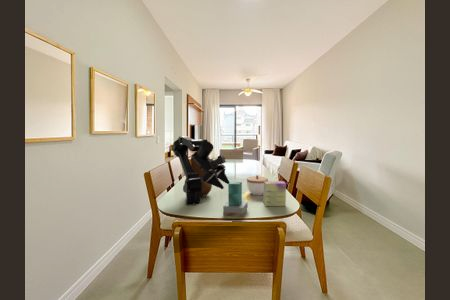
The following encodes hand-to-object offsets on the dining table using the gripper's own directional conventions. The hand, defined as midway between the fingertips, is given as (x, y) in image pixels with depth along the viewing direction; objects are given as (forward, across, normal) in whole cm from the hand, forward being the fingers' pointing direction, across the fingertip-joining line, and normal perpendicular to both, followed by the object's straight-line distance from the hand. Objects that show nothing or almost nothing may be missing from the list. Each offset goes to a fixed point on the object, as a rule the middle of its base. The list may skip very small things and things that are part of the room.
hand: (226, 185), depth 110 cm
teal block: (+9, 0, +3) cm, 9 cm away
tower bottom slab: (+13, 0, +6) cm, 14 cm away
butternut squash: (-7, +20, +25) cm, 33 cm away
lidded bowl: (+15, +34, +3) cm, 38 cm away
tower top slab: (+11, 0, +4) cm, 12 cm away
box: (+24, +17, -6) cm, 30 cm away
